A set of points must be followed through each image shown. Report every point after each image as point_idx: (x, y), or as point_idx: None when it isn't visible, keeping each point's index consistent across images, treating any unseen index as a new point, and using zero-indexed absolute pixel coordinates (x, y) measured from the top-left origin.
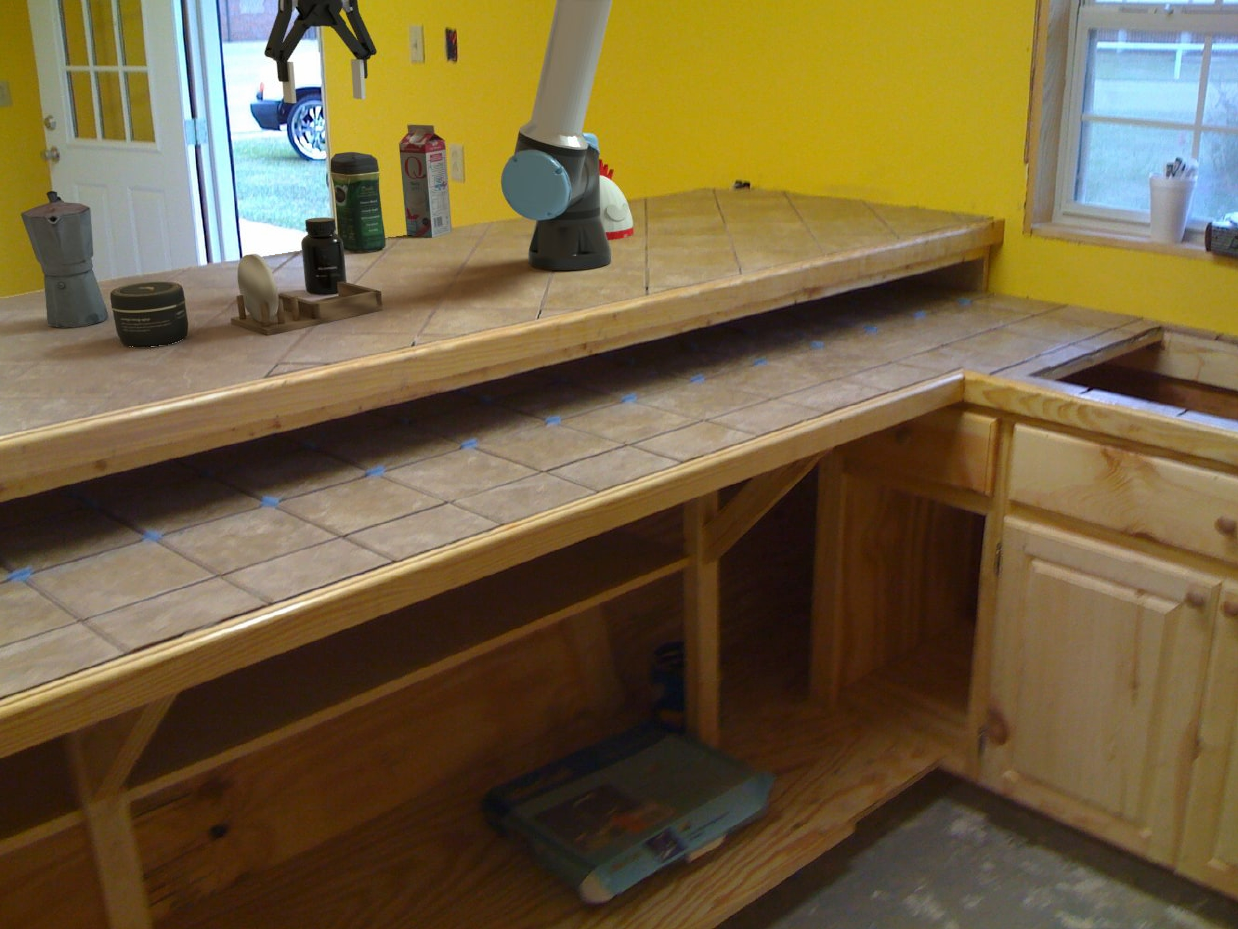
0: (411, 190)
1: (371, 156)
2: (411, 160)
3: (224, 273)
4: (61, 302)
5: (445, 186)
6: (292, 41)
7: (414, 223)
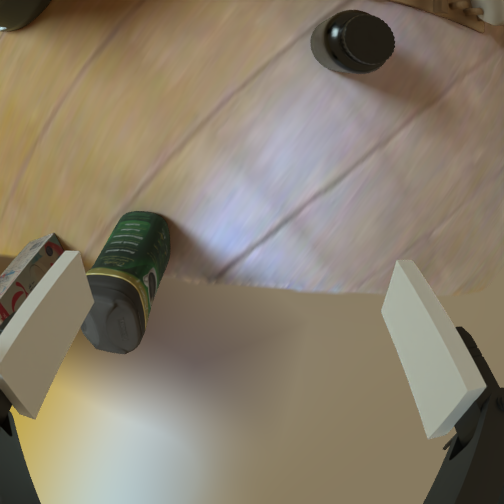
0: None
1: None
2: None
3: (346, 243)
4: None
5: (3, 274)
6: (494, 496)
7: None
